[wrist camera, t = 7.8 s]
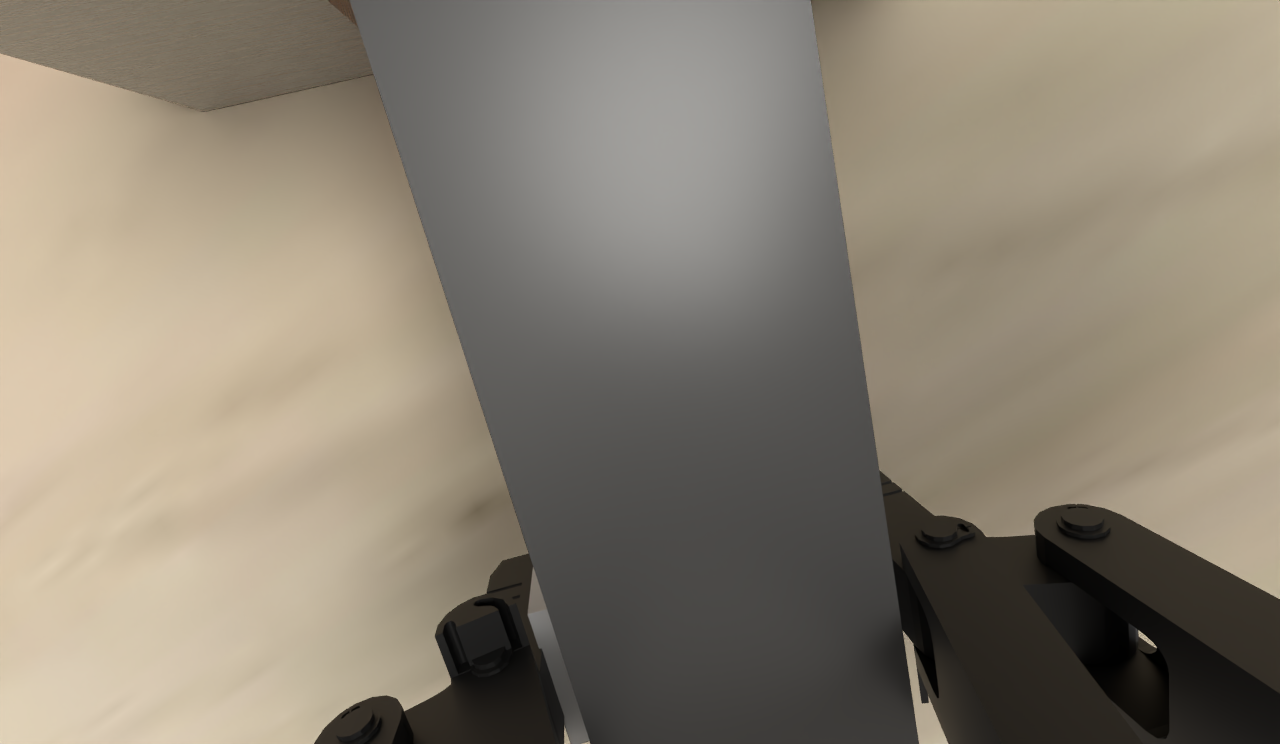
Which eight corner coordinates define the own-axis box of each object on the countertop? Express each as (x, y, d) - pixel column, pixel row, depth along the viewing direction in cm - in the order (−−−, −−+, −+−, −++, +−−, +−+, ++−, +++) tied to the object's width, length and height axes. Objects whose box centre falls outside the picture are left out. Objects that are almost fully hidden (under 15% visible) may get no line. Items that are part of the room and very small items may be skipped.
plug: (770, 506, 18) (1002, 846, 8) (586, 556, 18) (603, 965, 8) (604, -319, 13) (704, -1972, 3) (343, -265, 13) (-418, -1866, 3)
